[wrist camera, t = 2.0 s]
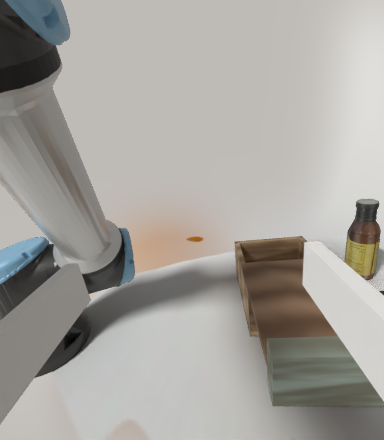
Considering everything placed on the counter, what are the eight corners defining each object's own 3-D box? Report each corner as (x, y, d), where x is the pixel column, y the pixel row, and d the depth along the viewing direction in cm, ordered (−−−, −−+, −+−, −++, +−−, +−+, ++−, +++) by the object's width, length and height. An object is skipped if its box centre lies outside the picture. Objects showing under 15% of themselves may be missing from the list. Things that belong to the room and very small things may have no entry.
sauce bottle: (358, 265, 59) (369, 195, 52) (380, 278, 53) (396, 201, 46) (336, 270, 58) (345, 199, 51) (356, 283, 52) (369, 206, 45)
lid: (442, 406, 23) (465, 354, 21) (272, 406, 25) (273, 358, 23) (325, 273, 46) (329, 240, 44) (241, 279, 48) (240, 247, 46)
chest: (347, 333, 40) (354, 289, 37) (250, 336, 42) (248, 295, 39) (300, 268, 61) (302, 236, 57) (236, 272, 63) (234, 241, 59)
